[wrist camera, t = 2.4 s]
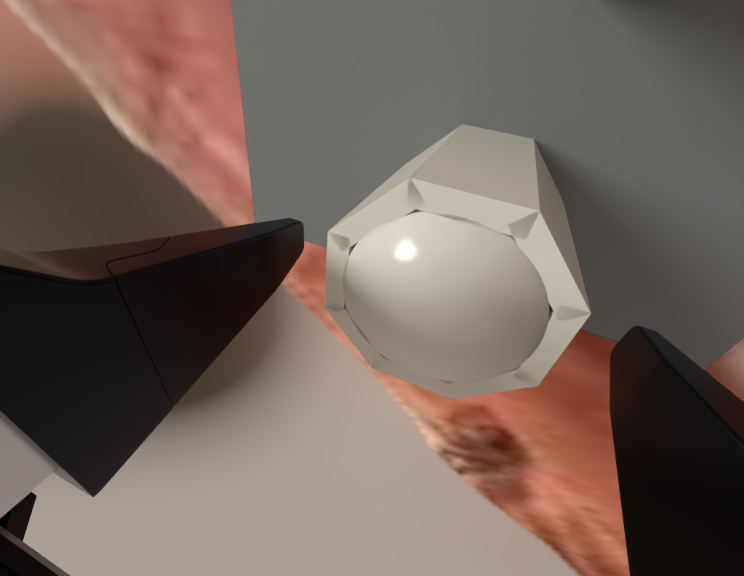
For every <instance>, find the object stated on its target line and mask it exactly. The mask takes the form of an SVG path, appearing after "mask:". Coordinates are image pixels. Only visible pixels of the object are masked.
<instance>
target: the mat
mask: <svg viewBox="0 0 744 576" xmlns="http://www.w3.org/2000/svg"><path fill="white" fill-rule="evenodd" d="M231 5H232V14H233V23H234V32H235V42H236V51H237V60H238V69H239V78H240V88H241V97H242V106H243V115H244V124H245V133H246V143H247V152H248V161H249V170H250V179H251V188H252V198H253V207H254V216H255V223H259V222H265V221H272V220H278V219H285V218H293V219H296V220H299V221H301V222H302V223H303V225H304V240H305V241H308V242H311V243H314V244H317V245H321V246H324V247H327V237H328V231H329V230H330V229H331V228H332V227H333V226H335V225H336V224H337V223H338V222H339V221H340V220H342V219H343V218H344V217H345V216H346V215H347V214H348V213H350V212H351V211H352V210H353V209H354V208H355V207H357V206H358V205H359V204H360V203H361V202H362V201H364V200H365V199H366V198H367V197H368V196H369V195H370V194H372V193H373V192H374V191H375V190H376V189H377V188H379V187H380V186H381V185H382V184H383V183H384V182H385V181H387V180H388V179H389V178H390V177H391V176H392V175H394V174H395V173H396V172H397V171H398V170H399V169H401V168H402V167H403V166H404V165H405V164H406V163H407V162H409V161H410V160H412V159H413V158H415V157H416V156H418V155H419V154H421V153H422V152H423V151H425V150H426V149H428V148H429V147H431V146H432V145H434V144H435V143H436V142H438V141H439V140H441V139H442V138H444V137H445V136H447V135H448V134H449V133H451V132H452V131H454V130H455V129H457V128H458V127H460V126H461V125H462V124H465V125H469V126H474V127H479V128H484V129H489V130H493V131H498V132H503V133H508V134H513V135H517V136H522V137H527V138H532V139H534V141H535V143H536V145H537V147H538V149H539V152H540V154H541V156H542V158H543V160H544V162H545V164H546V166H547V169H548V171H549V173H550V175H551V177H552V179H553V181H554V183H555V186H556V188H557V190H558V192H559V194H560V196H561V198H562V200H563V204H564V208H565V212H566V216H567V220H568V224H569V228H570V232H571V236H572V240H573V243H574V247H575V251H576V255H577V259H578V263H579V267H580V271H581V275H582V279H583V283H584V287H585V291H586V295H587V299H588V303H589V307H590V310H591V314H590V316H589V317H588V319H587V320H586V321H585V323H584V324H583V325H582V327H581V328H580V330H583V331H586V332H589V333H592V334H596V335H599V336H602V337H605V338H608V339H611V340H614V341H617V342H619V341H620V340H621V339H622V337H623V336H624V335H625V334H626V333H627V332H628V331H629V330H630V329H631V328H632V327H634V326H642V327H645V328H648V329H651V330H654V331H657V332H658V333H659V334H660V335H662V336H663V337H664V338H665V339H667V340H668V341H669V342H670V343H672V344H673V345H674V346H675V347H676V348H678V349H679V350H680V351H681V352H683V353H684V354H685V355H686V356H688V357H689V358H690V359H691V360H692V361H694V362H695V363H696V364H697V365H699V366H700V367H701V368H702V369H704V370H705V369H706V368H707V367H708V366H710V365H711V364H712V363H713V362H714V361H716V360H717V359H718V358H719V357H720V356H722V355H723V354H724V353H725V352H727V351H728V350H729V349H730V348H731V347H733V346H734V345H735V344H736V343H737V342H739V341H740V340H741V339H742V338H743V337H744V0H231Z"/></svg>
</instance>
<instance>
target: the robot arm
mask: <svg viewBox="0 0 744 576" xmlns="http://www.w3.org/2000/svg"><path fill="white" fill-rule="evenodd" d="M303 249H304V225H303V223H302V222H301V221H299V220H296V219H293V218H285V219H278V220H272V221H265V222H259V223H252V224H246V225H239V226H233V227H226V228H220V229H214V230H207V231H200V232H195V233H187V234H181V235H174V236H172V237H170V236H167V237H161V238H154V239H147V240H140V241H133V242H124V243H116V244H108V245H98V246H89V247H81V248H71V249H63V250H52V251H39V252H28V251H16V250H10V249H4V248H0V576H70V575H68V574H67V573H66V572H64V571H63V570H61V569H60V568H59V567H57V566H56V565H55V564H53V563H52V562H50V561H49V560H48V559H46V558H45V557H43V556H42V555H41V554H39V553H38V552H36V551H35V550H34V549H32V548H31V547H29V546H28V545H27V544H25V543H24V542H23V539H24V535H25V532H26V529H27V526H28V522H29V519H30V516H31V513H32V509H33V506H34V503H35V500H36V495H35V494H34V493H32V492H31V491H33V490H34V489H35V488H36V487H37V486H38V485H39V484H41V483H42V482H43V481H44V480H45V479H46V478H47V477H49V476H50V475H51V474H52V473H55V474H57V475H58V476H60V477H61V478H63V479H64V480H66V481H68V482H69V483H71V484H72V485H74V486H76V487H77V488H79V489H80V490H82V491H84V492H85V493H87V494H88V495H90V496H92V497H94V496H95V495H96V494H97V493H99V491H101V490H102V488H103V487H104V486H105V485H106V484H107V483H108V482H109V480H110V479H111V478H112V477H113V476H114V475H115V474H116V473H117V471H118V470H119V469H120V468H121V467H122V466H123V465H124V463H125V462H126V461H127V460H128V459H129V458H130V457H131V455H132V454H133V453H134V452H135V451H136V450H137V449H138V447H139V446H140V445H141V444H142V443H143V442H144V441H145V439H146V438H147V437H148V436H149V435H150V434H151V433H152V432H153V430H154V429H155V428H156V427H157V426H158V425H159V424H160V422H161V421H162V420H163V419H164V418H165V417H166V415H167V414H168V413H169V412H170V411H171V410H172V409H173V406H175V405H176V404H177V403H178V402H179V400H180V399H181V398H182V397H183V396H184V395H185V394H186V392H187V391H188V390H189V389H190V388H191V387H192V386H193V384H194V383H195V382H196V381H197V380H198V379H199V378H200V376H201V375H202V374H203V373H204V372H205V371H206V370H207V368H208V367H209V366H210V365H211V364H212V363H213V362H214V360H215V359H216V358H217V357H218V356H219V355H220V354H221V352H222V351H223V350H224V349H225V348H226V347H227V345H228V344H229V343H230V342H231V341H232V340H233V338H235V336H236V335H237V334H238V333H239V332H240V331H241V330H242V328H243V327H244V326H245V325H246V324H247V322H248V321H249V320H250V319H251V318H252V317H253V316H254V315H255V314H256V312H257V311H258V310H259V309H260V308H261V307H262V306H263V304H264V303H265V302H266V301H267V300H268V299H269V298H270V296H271V295H272V294H273V293H274V292H275V290H276V289H277V288H278V287H279V286H280V284H281V283H282V281H283V280H284V278H285V277H286V276H287V274H288V273H289V271H290V270H291V268H292V267H293V265H294V264H295V262H296V261H297V260H298V258H299V257H300V255H301V254H302V252H303ZM610 416H611V425H612V433H613V441H614V449H615V458H616V466H617V474H618V482H619V490H620V498H621V506H622V515H623V523H624V531H625V539H626V547H627V555H628V563H629V571H630V576H744V402H743V401H742V400H740V399H739V398H738V397H737V396H736V395H734V394H733V393H732V392H731V391H729V390H728V389H727V388H726V387H724V386H723V385H722V384H721V383H720V382H718V381H717V380H716V379H715V378H713V377H712V376H711V375H710V374H708V373H707V372H706V371H705V370H704V369H702V368H701V367H700V366H699V365H697V364H696V363H695V362H694V361H692V360H691V359H690V358H689V357H688V356H686V355H685V354H684V353H683V352H681V351H680V350H679V349H678V348H676V347H675V346H674V345H673V344H672V343H670V342H669V341H668V340H667V339H665V338H664V337H663V336H662V335H660V334H659V333H658V332H657V331H654V330H651V329H648V328H645V327H642V326H634V327H632V328H631V329H630V330H629V331H628V332H627V333H626V334H625V335H624V336H623V337H622V339H621V340H620V341H619V342H618V343H617V344H616V346H615V347H614V348H613V350H612V352H611V356H610Z"/></svg>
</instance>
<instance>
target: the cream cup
mask: <svg viewBox="0 0 744 576" xmlns="http://www.w3.org/2000/svg"><path fill="white" fill-rule="evenodd" d="M324 308H325V309H326V310H327V311H328V313H329V314H330V315H331V316H332V318H333V319H334V320H335V321H336V323H337V324H338V325H339V326H340V328H341V329H342V330H343V331H344V333H345V334H346V335H347V336H348V338H349V339H350V340H351V341H352V343H353V344H354V345H355V346H356V348H357V349H358V350H359V351H360V353H361V354H362V355H363V356H364V358H365V359H366V360H367V361H368V363H369V364H370V365H371V366H372V368H374V369H377V370H379V371H382V372H384V373H387V374H389V375H392V376H394V377H397V378H399V379H402V380H404V381H407V382H409V383H412V384H414V385H417V386H419V387H422V388H424V389H427V390H429V391H432V392H434V393H437V394H439V395H442V396H444V397H447V398H449V399H453V398H460V397H467V396H474V395H481V394H488V393H495V392H502V391H509V390H515V389H522V388H529V387H536V386H538V385H539V384H540V382H541V381H542V380H543V378H544V377H545V376H546V374H547V373H548V372H549V370H550V369H551V368H552V366H553V365H554V363H555V362H556V361H557V359H558V358H559V357H560V355H561V354H562V353H563V351H564V350H565V348H566V347H567V346H568V344H569V343H570V342H571V340H572V339H573V338H574V336H575V335H576V333H577V332H578V331H579V329H580V328H581V327H582V325H583V324H584V323H585V321H586V320H587V319H588V317H589V316H590V314H591V310H590V307H589V303H588V299H587V295H586V291H585V287H584V283H583V279H582V275H581V271H580V267H579V263H578V259H577V255H576V251H575V247H574V243H573V240H572V236H571V232H570V228H569V224H568V220H567V216H566V212H565V208H564V204H563V200H562V198H561V196H560V194H559V192H558V190H557V188H556V186H555V183H554V181H553V179H552V177H551V175H550V173H549V171H548V169H547V166H546V164H545V162H544V160H543V158H542V156H541V154H540V152H539V149H538V147H537V145H536V143H535V141H534V139H532V138H527V137H522V136H517V135H513V134H508V133H503V132H498V131H493V130H489V129H484V128H479V127H474V126H469V125H465V124H462V125H461V126H460V127H458V128H457V129H455V130H454V131H452V132H451V133H449V134H448V135H447V136H445V137H444V138H442V139H441V140H439V141H438V142H436V143H435V144H434V145H432V146H431V147H429V148H428V149H426V150H425V151H423V152H422V153H421V154H419V155H418V156H416V157H415V158H413V159H412V160H410V161H409V162H407V163H406V164H405V165H404V166H403V167H402V168H401V169H399V170H398V171H397V172H396V173H395V174H394V175H392V176H391V177H390V178H389V179H388V180H387V181H385V182H384V183H383V184H382V185H381V186H380V187H379V188H377V189H376V190H375V191H374V192H373V193H372V194H370V195H369V196H368V197H367V198H366V199H365V200H364V201H362V202H361V203H360V204H359V205H358V206H357V207H355V208H354V209H353V210H352V211H351V212H350V213H348V214H347V215H346V216H345V217H344V218H343V219H342V220H340V221H339V222H338V223H337V224H336V225H335V226H333V227H332V228H331V229H330V230H329V231H328V237H327V260H326V283H325V306H324Z"/></svg>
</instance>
